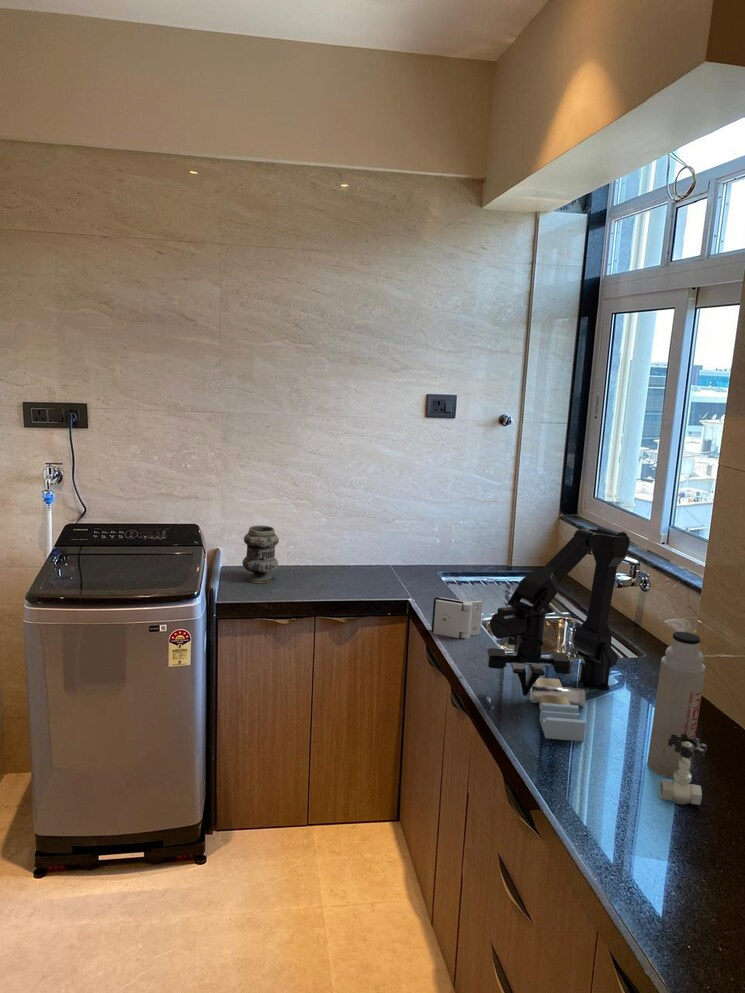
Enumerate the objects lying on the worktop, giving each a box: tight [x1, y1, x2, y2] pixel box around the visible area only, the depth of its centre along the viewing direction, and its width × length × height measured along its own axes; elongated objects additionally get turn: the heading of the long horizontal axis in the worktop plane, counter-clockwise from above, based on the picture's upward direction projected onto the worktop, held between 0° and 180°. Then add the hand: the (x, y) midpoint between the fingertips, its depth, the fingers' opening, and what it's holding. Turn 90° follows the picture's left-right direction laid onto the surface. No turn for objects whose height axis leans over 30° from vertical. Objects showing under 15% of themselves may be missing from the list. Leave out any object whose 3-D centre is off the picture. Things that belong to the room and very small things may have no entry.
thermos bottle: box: [646, 631, 706, 779], centre depth 146 cm, size 8×8×28 cm
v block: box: [539, 703, 587, 742], centre depth 161 cm, size 8×8×4 cm
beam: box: [533, 677, 570, 711], centre depth 174 cm, size 6×14×3 cm, turn 177°
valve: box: [659, 734, 708, 806], centre depth 136 cm, size 7×7×12 cm
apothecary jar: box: [241, 525, 280, 584], centre depth 253 cm, size 12×12×18 cm
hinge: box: [431, 596, 484, 640], centre depth 213 cm, size 14×5×10 cm, turn 83°
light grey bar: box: [529, 685, 587, 707], centre depth 174 cm, size 12×4×4 cm, turn 87°
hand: (524, 695), depth 174 cm, fingers closed
